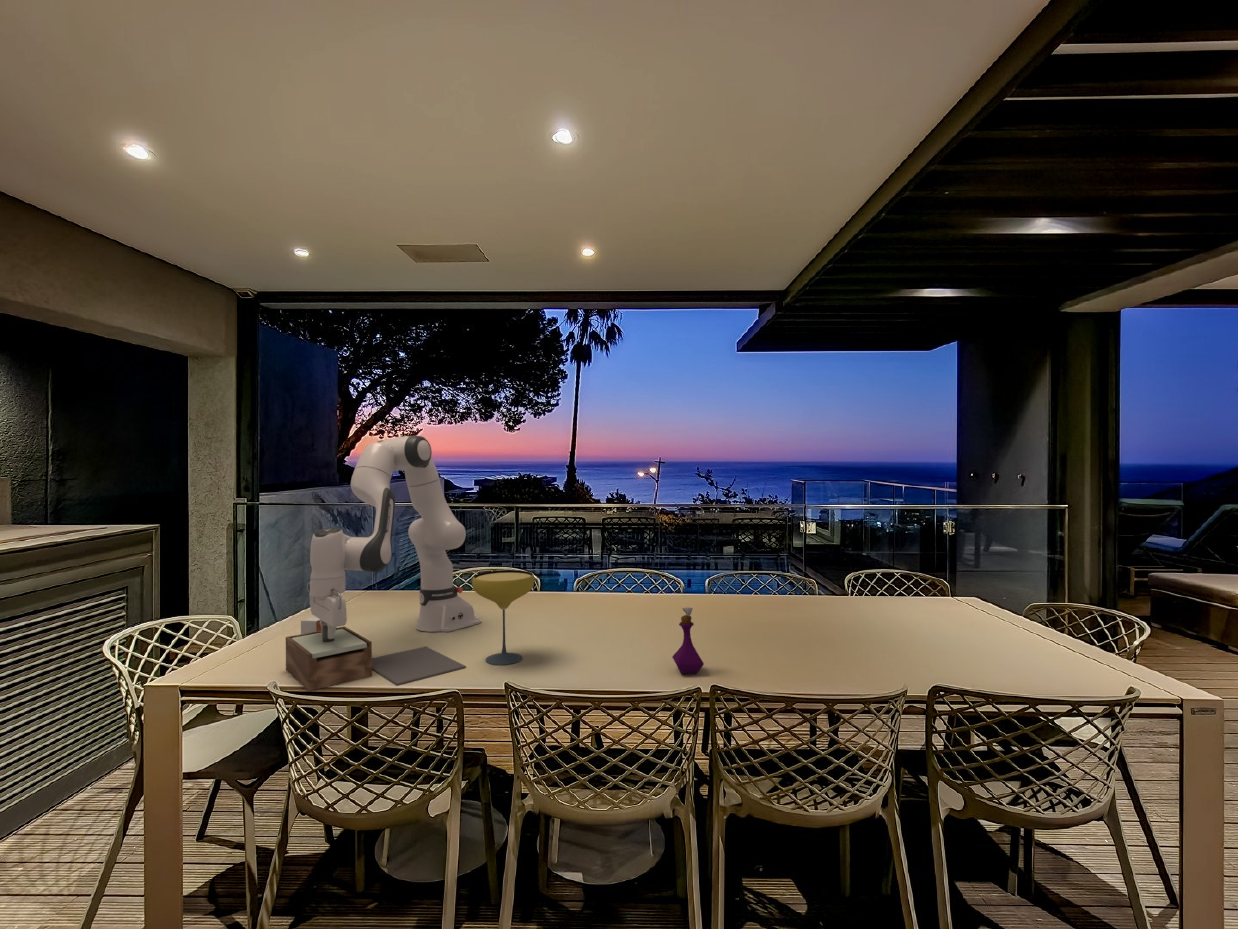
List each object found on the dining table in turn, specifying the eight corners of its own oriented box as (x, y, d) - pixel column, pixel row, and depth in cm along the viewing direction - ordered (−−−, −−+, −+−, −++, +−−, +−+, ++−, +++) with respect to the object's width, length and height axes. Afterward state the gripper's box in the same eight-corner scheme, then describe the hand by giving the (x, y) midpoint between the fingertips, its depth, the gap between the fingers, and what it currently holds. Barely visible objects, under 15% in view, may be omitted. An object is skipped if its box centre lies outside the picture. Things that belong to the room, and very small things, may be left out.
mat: (425, 647, 190) (425, 646, 190) (465, 667, 171) (465, 666, 171) (361, 662, 177) (361, 660, 177) (396, 685, 158) (396, 683, 158)
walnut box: (344, 657, 181) (344, 626, 181) (371, 676, 165) (371, 641, 165) (285, 670, 171) (285, 637, 171) (308, 691, 154) (308, 654, 154)
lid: (342, 633, 179) (342, 615, 179) (366, 647, 165) (366, 628, 165) (291, 642, 170) (291, 624, 170) (312, 658, 155) (312, 638, 155)
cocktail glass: (485, 674, 166) (484, 583, 166) (464, 656, 181) (464, 573, 181) (544, 662, 176) (544, 576, 176) (520, 646, 191) (520, 568, 191)
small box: (316, 655, 184) (316, 621, 184) (300, 654, 185) (300, 620, 185) (333, 647, 192) (333, 614, 192) (318, 646, 193) (318, 614, 193)
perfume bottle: (672, 668, 170) (671, 604, 170) (698, 667, 170) (697, 603, 170) (676, 677, 162) (676, 610, 162) (704, 676, 163) (703, 609, 163)
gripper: (352, 590, 162) (353, 642, 162) (328, 580, 177) (329, 627, 177) (327, 594, 157) (328, 647, 157) (305, 583, 173) (305, 631, 173)
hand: (328, 636), depth 167 cm, fingers closed on lid, 3 cm apart
